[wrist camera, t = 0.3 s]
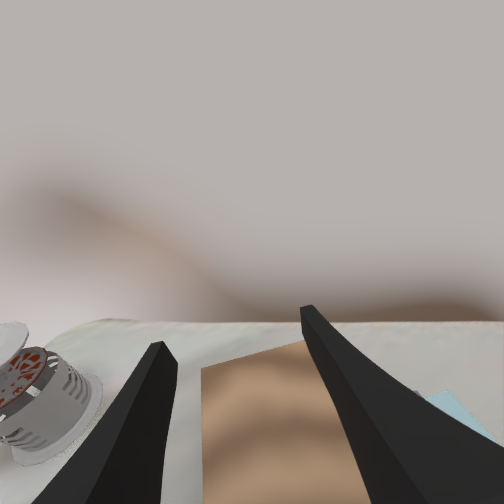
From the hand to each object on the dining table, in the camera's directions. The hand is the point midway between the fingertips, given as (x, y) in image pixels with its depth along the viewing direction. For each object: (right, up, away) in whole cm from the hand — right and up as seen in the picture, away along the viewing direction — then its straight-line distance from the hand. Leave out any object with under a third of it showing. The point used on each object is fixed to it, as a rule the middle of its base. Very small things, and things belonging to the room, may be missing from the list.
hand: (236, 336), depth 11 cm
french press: (-25, -17, +17) cm, 35 cm away
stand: (+4, -17, +11) cm, 21 cm away
